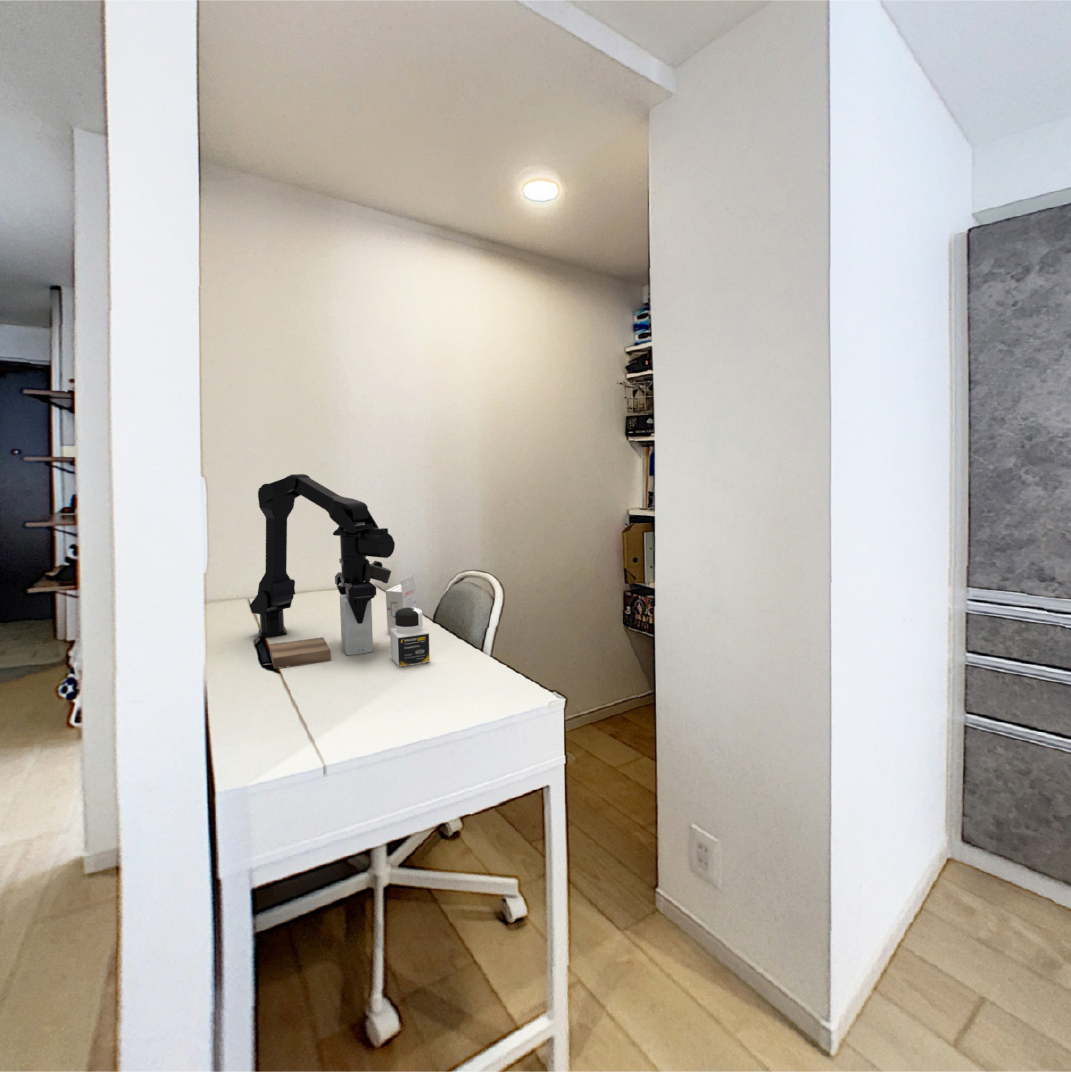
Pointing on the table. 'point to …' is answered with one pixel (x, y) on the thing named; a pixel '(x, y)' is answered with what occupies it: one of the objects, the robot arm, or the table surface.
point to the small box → (355, 629)
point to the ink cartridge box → (400, 599)
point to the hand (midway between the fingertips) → (356, 618)
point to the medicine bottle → (409, 638)
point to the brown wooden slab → (299, 652)
